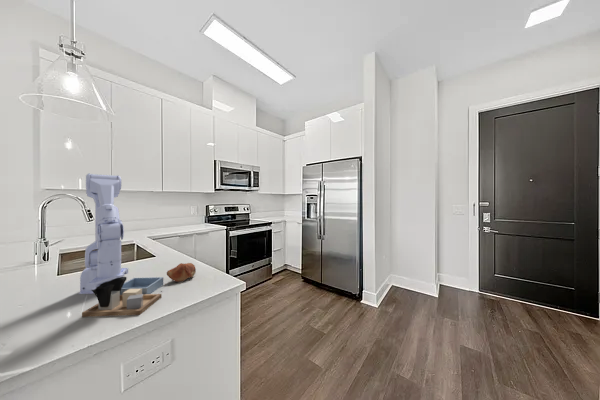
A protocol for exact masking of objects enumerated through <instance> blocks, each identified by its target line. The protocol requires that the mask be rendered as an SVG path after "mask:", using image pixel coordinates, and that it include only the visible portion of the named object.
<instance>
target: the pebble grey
mask: <svg viewBox="0 0 600 400" xmlns="http://www.w3.org/2000/svg"><path fill="white" fill-rule="evenodd" d="M97 302H98V301H97ZM97 304H98V310H112V309H114V308H115V307H117V306H118V305H120V291H112V292H111V297H110V304H109V306H108V307H100V304H99V302H98V303H97Z"/></svg>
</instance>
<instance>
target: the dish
mask: <svg viewBox="0 0 600 400" xmlns="http://www.w3.org/2000/svg"><path fill="white" fill-rule="evenodd" d="M163 286H164V276H161V277H160V276H159V277H157V276H156V277H133V278H131V279H130V280H126V281H125V283H124V284H123V286H122V289H121V291H120V295H123V292H125V291H127V290H128V289H142V294H154V292H155V291H157V290H158V289H160V288H161V287H163Z"/></svg>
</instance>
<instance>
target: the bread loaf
mask: <svg viewBox="0 0 600 400" xmlns="http://www.w3.org/2000/svg"><path fill="white" fill-rule="evenodd" d="M196 270H197V269H196V265H195V264H193V263H192V262H187V263H179V264H178V265H176V266H175V267H172V268H171V269H169V270H167V272H166V275H167V277H168V278H169V279H171V280H172V281H174V282H175V283H176V282H177V283H182V282H185V281H186V280H187V279H188V278H189V279H191V278H193V277H194V276H195V274H196Z"/></svg>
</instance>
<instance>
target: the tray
mask: <svg viewBox="0 0 600 400" xmlns="http://www.w3.org/2000/svg"><path fill="white" fill-rule="evenodd" d="M161 298H162V293H151V294H143V306H142V307H141V308H139V309H128V310H127V307H122V300H123V295H120V305H118V306H117V307H115V308H114V309H112V310H98V303H96V304H95V305H93V306H91V307H90V308H88V309H86V310H84V311H82V312H81V317H82V318H87V317H92V318H93V317H113V316H114V317H118V316H119V317H120V316H121V317H122V316H140V315H142V314H143V313H144V312H145V311H147V309H150V307H152V306H153V305H154V304H155V303H157V302H158V301H159V300H160V299H161Z"/></svg>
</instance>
